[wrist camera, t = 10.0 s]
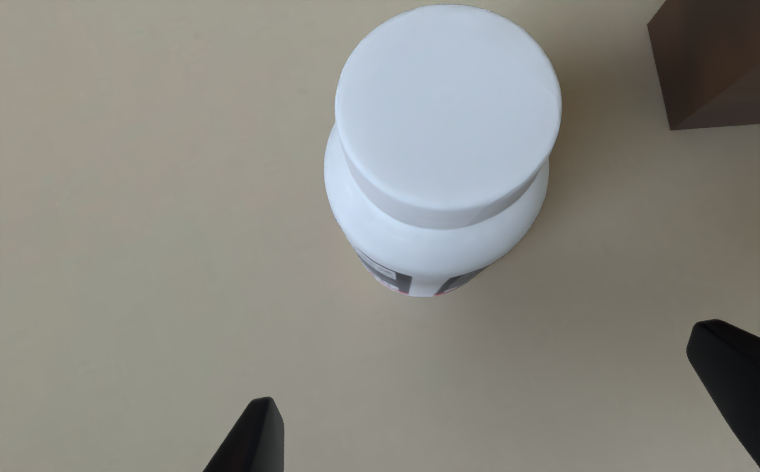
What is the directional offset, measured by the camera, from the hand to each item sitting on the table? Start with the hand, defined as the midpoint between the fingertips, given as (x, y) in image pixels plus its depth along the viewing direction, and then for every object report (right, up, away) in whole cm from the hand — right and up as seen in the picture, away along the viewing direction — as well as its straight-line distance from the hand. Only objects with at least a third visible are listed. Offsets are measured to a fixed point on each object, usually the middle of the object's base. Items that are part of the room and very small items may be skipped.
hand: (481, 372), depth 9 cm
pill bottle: (-1, +3, +8) cm, 9 cm away
